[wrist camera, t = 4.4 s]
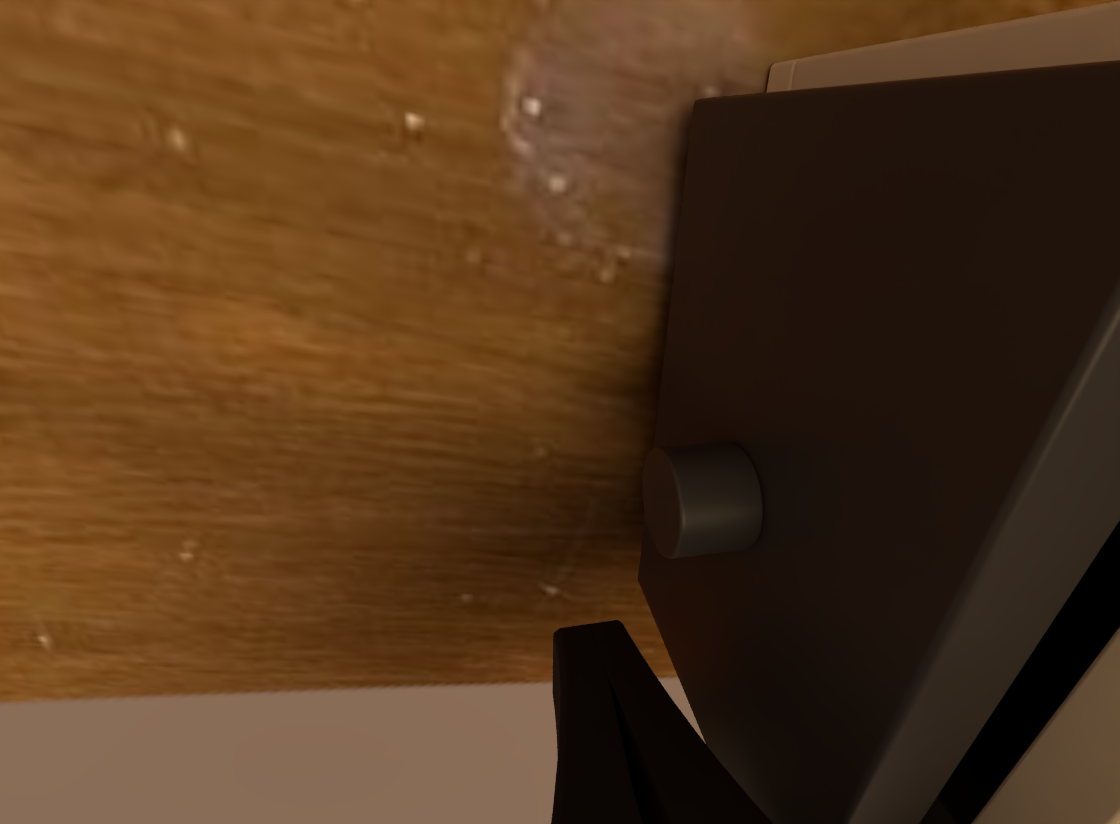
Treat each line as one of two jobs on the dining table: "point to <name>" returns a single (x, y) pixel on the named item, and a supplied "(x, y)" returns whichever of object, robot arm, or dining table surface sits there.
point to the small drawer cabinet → (1116, 674)
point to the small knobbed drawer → (890, 434)
